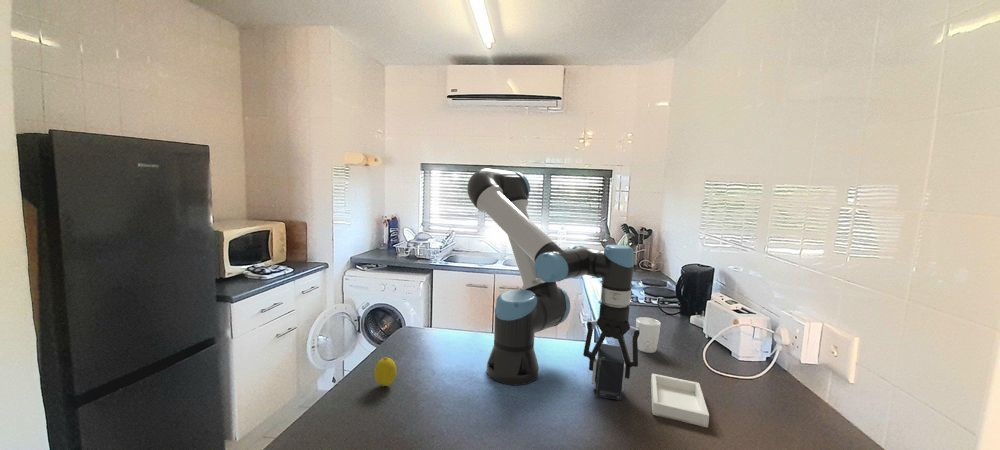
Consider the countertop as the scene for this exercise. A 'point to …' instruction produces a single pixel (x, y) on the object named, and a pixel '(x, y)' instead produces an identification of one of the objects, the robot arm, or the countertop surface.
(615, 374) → the small box
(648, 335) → the white cup
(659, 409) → the parts tray
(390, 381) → the lemon
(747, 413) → the countertop surface
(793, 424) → the countertop surface
